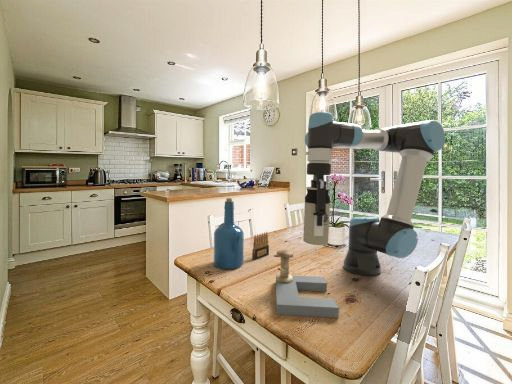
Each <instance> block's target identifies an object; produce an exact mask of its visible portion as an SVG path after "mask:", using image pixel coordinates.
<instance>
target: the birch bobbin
mask: <svg viewBox="0 0 512 384" xmlns="http://www.w3.org/2000/svg"><path fill="white" fill-rule="evenodd" d="M276 256H277V257H278V258H280V273H278V274H275V281H276V280H277V281H278V282H281V283H290V282H292V281H293V277H292V276H291V275H292V274H289V273H290V259H291V258H293V257H294V252H293V251H292V250H287V249H281V250H276Z"/></svg>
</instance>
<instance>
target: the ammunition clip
mask: <svg viewBox="0 0 512 384" xmlns="http://www.w3.org/2000/svg"><path fill="white" fill-rule="evenodd" d="M252 246H253V248H252V255H251V260H252V261H253V260H254V261H257V260H260V259H262V258H265V257H268V256H269V254H270V251H269V250H270V246H269V233H268V231H266V232H264V233H263V232H261V233H259V234H257V235H256V234H255V235H254V238H253V245H252Z"/></svg>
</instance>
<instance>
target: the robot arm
mask: <svg viewBox="0 0 512 384" xmlns="http://www.w3.org/2000/svg"><path fill="white" fill-rule="evenodd" d="M307 130H308V131H307V132H306V134H305V136H304V143H305V145H306V147H307V151H305V155H306V156H307V157H306V159H307V160H306V161H307V162H308V163H307V164H306V174H307V175H310V176H312V177H313V178H312V179H311V180H310V187H313V188H317V193H316V192H315V191H314V193H315V194H316V205H315V210H316V213H313V215H315V218H314V236H323V225H324V214H326V187H327V184H328V183H327V181H326V180H325V177H324V176H331V172H332V165H331V163H330V162H332V156H333V155H332V153H333V149H358V150H359V149H368V150H369V149H372V150H374V151H376V152H386V153H387V152H389V153H398V154H399V155H400V156H401V160H400V163H399V168H398V171H397V175H396V179H395V183H394V187H393V189H392V193H391V196H390V198H389V199H390V200H389V203H388V207H387V210H386V214H385V215H382V216H381V217H380V218H379V217H376V216H355V217H352V218H351V219H350V221H349V225H348V226H349V227H348V250H347V253H346V255H345V257H344V260H343V268H344V269H345V270H346V271H348V272H351V273H354V274H357V275H362V276H376V275H379V274H381V269H382V268H381V267H382V266H381V263H380V260H379V259H380V258H379V256H378V252H379V253H381V254H385V255H387V256H388V257H394V258H398V259H404V258H407V257H409V256H410V255H412V254H413V252H414V251H415V249H416V248H417V246H418V240H419V238H418V233H417V231H416V230H414V228H415V225H414V223H413V221H412V218H413V214H414V211H415V207H416V202H417V199H418V195H419V192H420V189H421V185H422V180H423V177H424V173H425V170H426V166H427V163H428V161H430V160H432V159H433V158H434V155H435V152H438V151H441V150H442V149H443V148H444V145H445V143H446V133H445V130H444V127H443V126H442V124H441V123H440V122H438V121H437V120H435V119H434V120H433V119H430V120H422V121H419V122H418V121H417V122H411V123H405V124H399V125H394V126H390V127H383V128H381V127H380V128H376V129H374V130H373V129H371V130H369V129H368V130H367V129H366V130H365V129H363V128H362V127H361V126H360V125H359V124H357V123H356V124H355V123H353V122H350V123H348V122H340V121H335V120H334V115H333V113H331V112H328V111H318V112H314V113H311V114H310V115H309V117H308V126H307Z"/></svg>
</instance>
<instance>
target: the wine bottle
mask: <svg viewBox="0 0 512 384" xmlns="http://www.w3.org/2000/svg"><path fill="white" fill-rule="evenodd" d="M234 205H235V204H234V200H233V198H232V197H227V198H226V200H225V202H224V207H223V209H224V212H223V213H224V217H223V222H222V223H221V224H219V225H218V226H217V228H216V229H215V230H214V232H213V265H214V266H215V267H216V268H218V269H220V270H235V269H238V268H241V267H242V265H244V253H245V252H244V247H245V246H244V245H245V244H244V242H245V241H244V240H245V239H244V238H245V237H244V236H245V234H244V231H243V229H242V228H241V227H240V226H238V225H237V224H235V214H234V211H235V210H234V209H235V206H234Z"/></svg>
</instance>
